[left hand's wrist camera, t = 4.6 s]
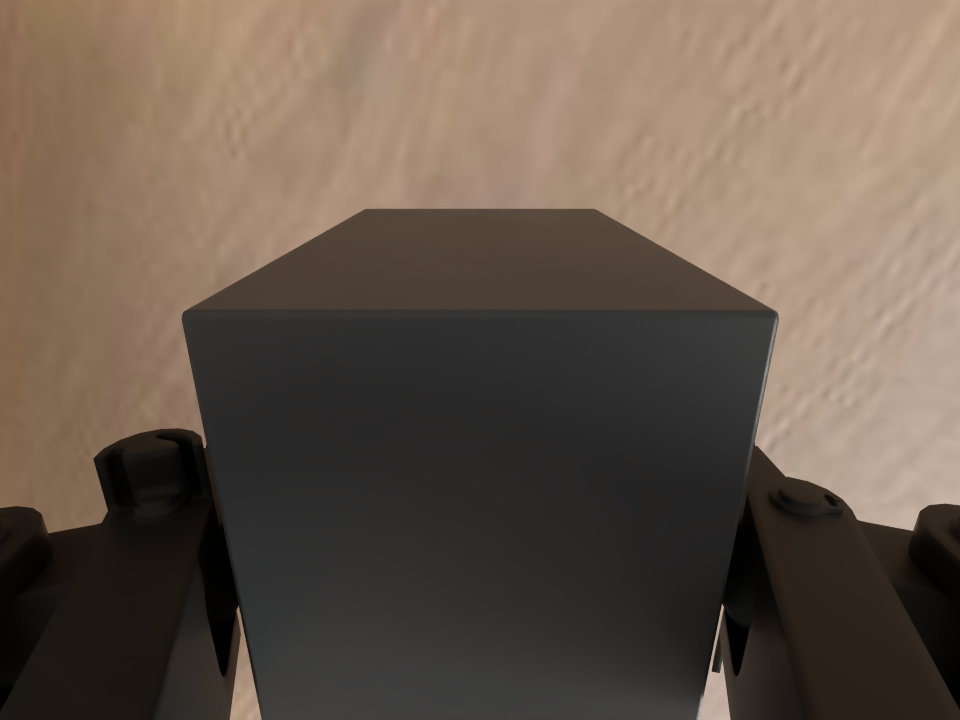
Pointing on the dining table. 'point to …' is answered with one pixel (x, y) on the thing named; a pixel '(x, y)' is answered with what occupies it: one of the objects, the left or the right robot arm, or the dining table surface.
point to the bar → (480, 465)
